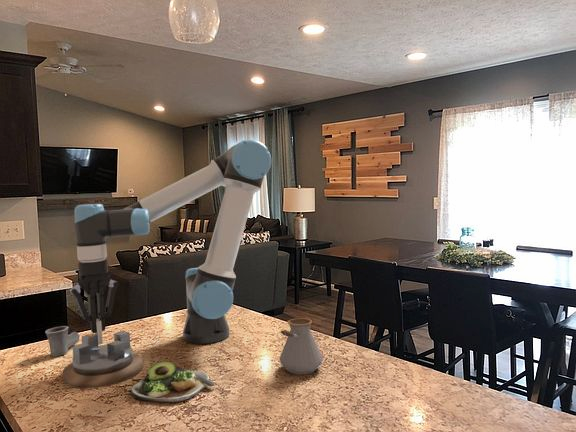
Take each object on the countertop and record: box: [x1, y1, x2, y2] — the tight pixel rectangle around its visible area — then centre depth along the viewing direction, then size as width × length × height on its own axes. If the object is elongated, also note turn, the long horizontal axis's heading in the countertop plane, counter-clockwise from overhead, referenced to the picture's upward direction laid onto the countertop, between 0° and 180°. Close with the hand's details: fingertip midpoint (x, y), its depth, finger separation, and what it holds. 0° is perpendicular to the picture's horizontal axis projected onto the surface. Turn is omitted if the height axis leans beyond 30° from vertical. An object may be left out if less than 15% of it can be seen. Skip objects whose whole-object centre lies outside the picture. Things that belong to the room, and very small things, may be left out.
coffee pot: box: [276, 317, 324, 375], centre depth 117 cm, size 21×12×15 cm, turn 162°
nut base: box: [62, 352, 144, 389], centre depth 124 cm, size 20×20×2 cm
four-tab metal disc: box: [72, 330, 134, 375], centre depth 123 cm, size 15×15×7 cm
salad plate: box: [130, 360, 216, 403], centre depth 113 cm, size 19×18×5 cm
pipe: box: [44, 325, 80, 358], centre depth 141 cm, size 6×13×8 cm, turn 174°
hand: (99, 343), depth 128 cm, fingers closed
